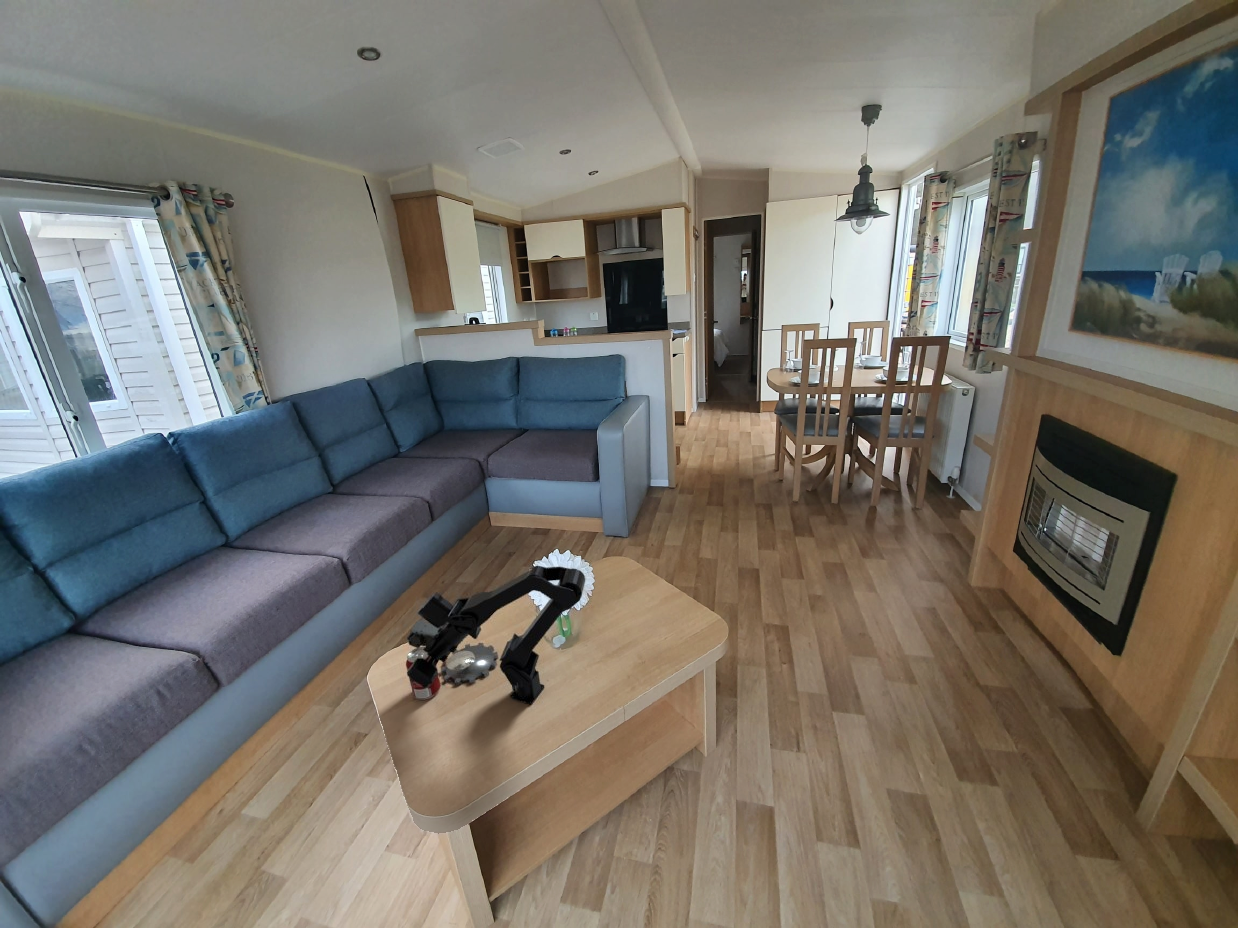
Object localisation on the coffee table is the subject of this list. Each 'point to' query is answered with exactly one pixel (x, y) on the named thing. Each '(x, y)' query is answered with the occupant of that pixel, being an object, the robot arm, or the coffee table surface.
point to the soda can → (417, 689)
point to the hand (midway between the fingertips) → (417, 670)
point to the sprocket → (469, 663)
